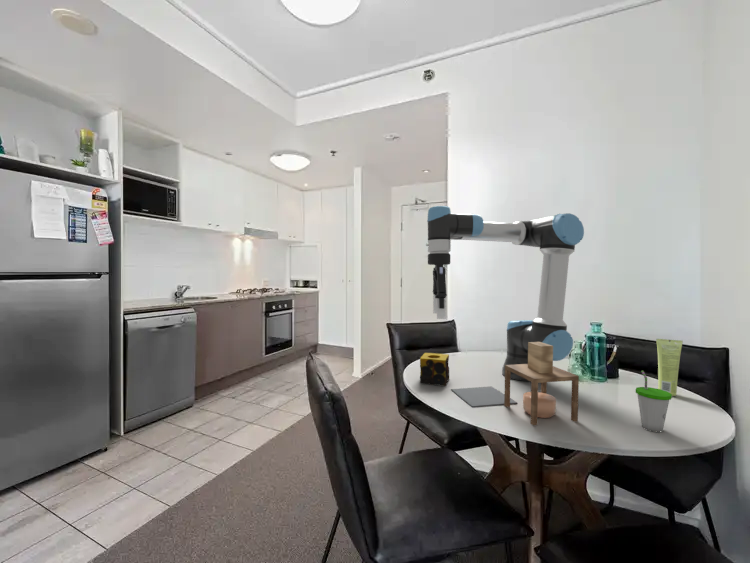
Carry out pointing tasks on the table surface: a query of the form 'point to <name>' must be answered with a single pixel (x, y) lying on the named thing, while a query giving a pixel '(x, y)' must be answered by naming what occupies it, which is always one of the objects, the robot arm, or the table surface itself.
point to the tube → (668, 364)
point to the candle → (434, 369)
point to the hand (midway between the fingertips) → (439, 315)
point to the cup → (652, 406)
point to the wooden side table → (541, 377)
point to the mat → (481, 396)
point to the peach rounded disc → (541, 404)
